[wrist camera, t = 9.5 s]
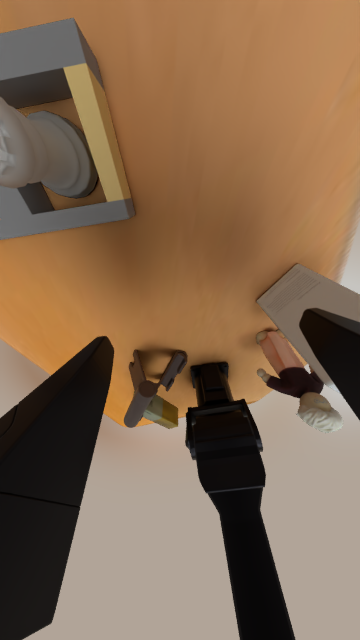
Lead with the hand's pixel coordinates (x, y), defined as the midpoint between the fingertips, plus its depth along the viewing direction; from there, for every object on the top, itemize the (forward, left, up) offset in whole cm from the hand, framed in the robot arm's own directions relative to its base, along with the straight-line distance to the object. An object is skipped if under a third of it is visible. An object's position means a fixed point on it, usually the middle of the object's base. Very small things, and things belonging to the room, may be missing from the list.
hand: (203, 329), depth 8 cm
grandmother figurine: (-14, -11, -12) cm, 22 cm away
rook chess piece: (+8, +8, -12) cm, 17 cm away
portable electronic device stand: (-17, +7, -12) cm, 22 cm away
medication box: (-29, +9, -12) cm, 33 cm away
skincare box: (-6, -12, -12) cm, 18 cm away
